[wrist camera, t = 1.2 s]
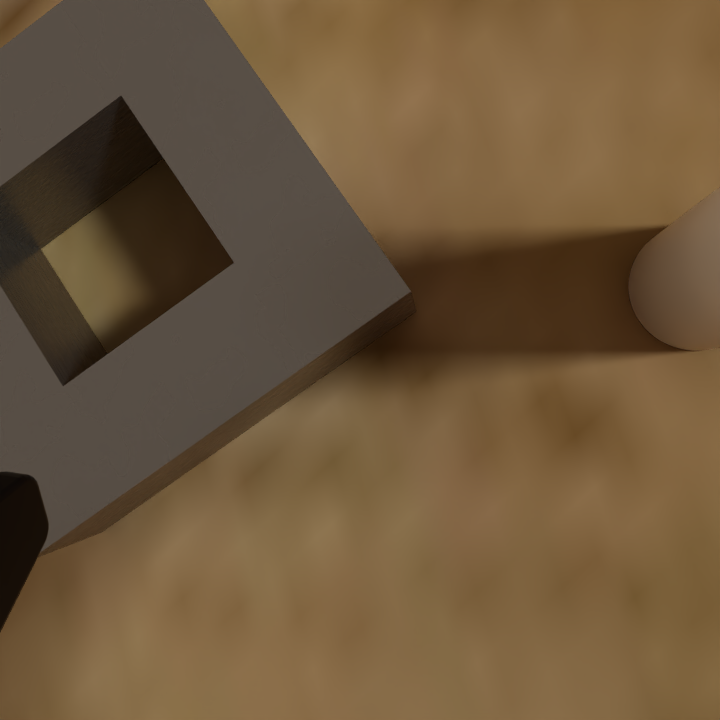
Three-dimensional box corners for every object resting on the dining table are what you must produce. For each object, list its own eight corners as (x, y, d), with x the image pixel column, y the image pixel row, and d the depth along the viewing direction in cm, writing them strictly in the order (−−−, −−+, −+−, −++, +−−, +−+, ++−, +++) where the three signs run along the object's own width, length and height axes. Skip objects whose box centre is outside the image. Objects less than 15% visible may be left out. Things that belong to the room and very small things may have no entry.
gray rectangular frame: (416, 311, 22) (411, 291, 18) (100, 532, 22) (27, 560, 18) (203, 10, 23) (153, -70, 19) (-85, 228, 24) (-189, 194, 20)
